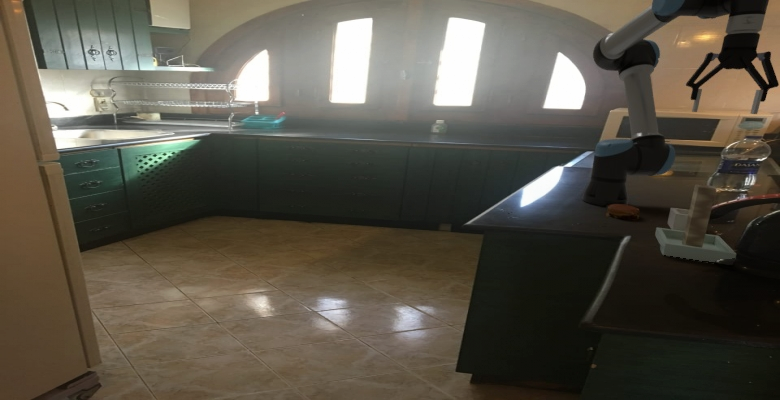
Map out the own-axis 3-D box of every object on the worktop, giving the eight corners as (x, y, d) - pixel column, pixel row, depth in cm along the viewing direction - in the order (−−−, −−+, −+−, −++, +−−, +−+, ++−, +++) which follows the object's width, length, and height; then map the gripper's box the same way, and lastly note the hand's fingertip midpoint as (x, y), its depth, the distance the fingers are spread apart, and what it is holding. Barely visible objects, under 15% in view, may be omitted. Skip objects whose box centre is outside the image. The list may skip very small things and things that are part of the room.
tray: (663, 255, 99) (665, 243, 98) (654, 238, 112) (656, 227, 111) (733, 266, 94) (736, 253, 93) (715, 247, 106) (718, 235, 105)
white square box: (671, 233, 116) (675, 213, 114) (666, 226, 122) (670, 207, 121) (702, 237, 113) (707, 217, 111) (696, 230, 119) (700, 211, 118)
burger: (602, 213, 135) (604, 200, 134) (633, 216, 132) (635, 203, 131) (609, 222, 126) (611, 208, 124) (642, 225, 123) (645, 211, 122)
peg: (684, 247, 101) (698, 187, 97) (681, 243, 104) (695, 184, 100) (701, 250, 100) (716, 188, 96) (697, 245, 103) (712, 185, 99)
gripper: (689, 33, 110) (673, 111, 116) (810, 29, 100) (785, 115, 105) (684, 37, 117) (669, 110, 122) (796, 33, 106) (774, 114, 112)
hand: (723, 112), depth 114 cm, fingers open, 13 cm apart
